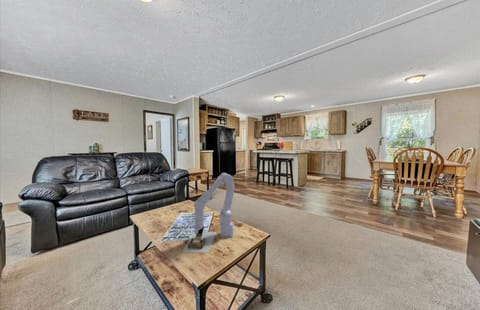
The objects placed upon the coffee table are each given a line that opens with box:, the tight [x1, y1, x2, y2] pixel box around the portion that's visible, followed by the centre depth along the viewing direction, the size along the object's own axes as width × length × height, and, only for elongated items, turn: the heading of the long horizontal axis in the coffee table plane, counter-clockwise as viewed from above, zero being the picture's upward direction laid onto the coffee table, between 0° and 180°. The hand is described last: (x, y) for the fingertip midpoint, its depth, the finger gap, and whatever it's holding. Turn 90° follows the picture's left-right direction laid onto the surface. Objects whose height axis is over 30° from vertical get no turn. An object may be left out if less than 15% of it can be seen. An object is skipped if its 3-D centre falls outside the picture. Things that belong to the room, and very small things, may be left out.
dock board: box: [181, 231, 217, 253], centre depth 114 cm, size 16×24×1 cm, turn 176°
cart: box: [193, 233, 203, 244], centre depth 110 cm, size 6×5×6 cm
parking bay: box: [188, 238, 205, 249], centre depth 109 cm, size 9×7×2 cm
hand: (199, 238), depth 114 cm, fingers closed
